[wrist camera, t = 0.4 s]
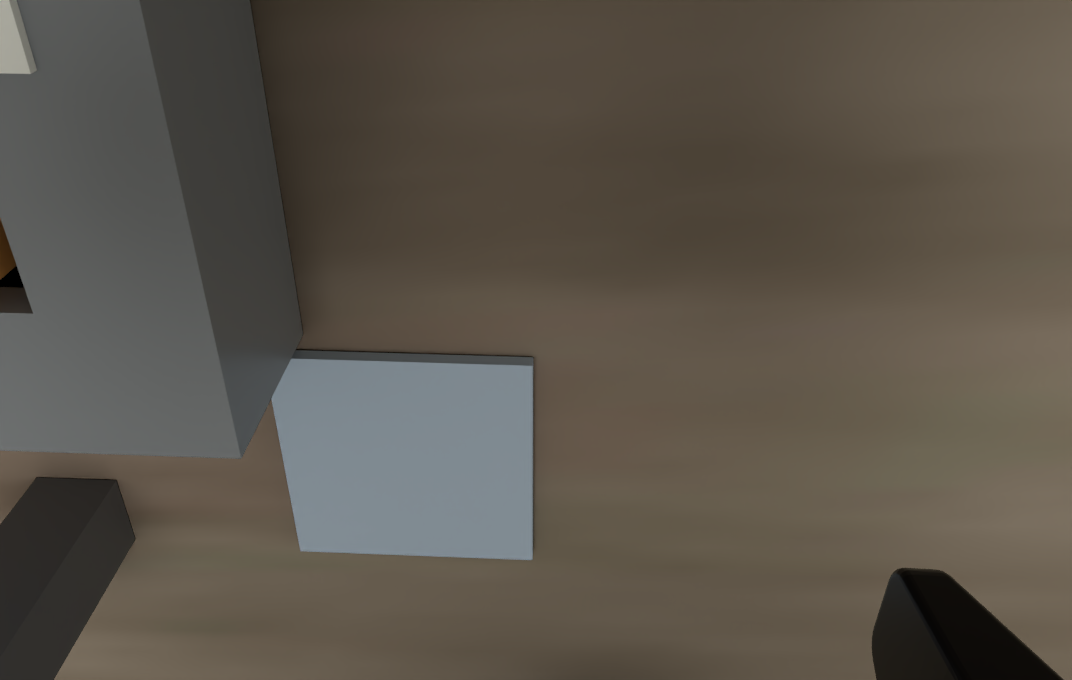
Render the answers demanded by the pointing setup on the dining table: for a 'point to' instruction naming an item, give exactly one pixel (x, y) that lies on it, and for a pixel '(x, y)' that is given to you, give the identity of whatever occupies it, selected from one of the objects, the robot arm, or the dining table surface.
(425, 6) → the dining table surface
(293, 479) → the pad
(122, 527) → the dark gray rectangular block
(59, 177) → the breaker housing
